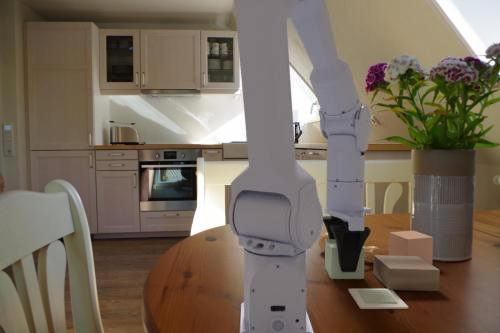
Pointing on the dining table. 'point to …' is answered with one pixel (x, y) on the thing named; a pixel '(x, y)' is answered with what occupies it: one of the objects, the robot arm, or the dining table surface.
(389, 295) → the swatch
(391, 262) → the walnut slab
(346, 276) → the sage block
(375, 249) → the figurine
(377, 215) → the dining table surface
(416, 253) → the terracotta block
